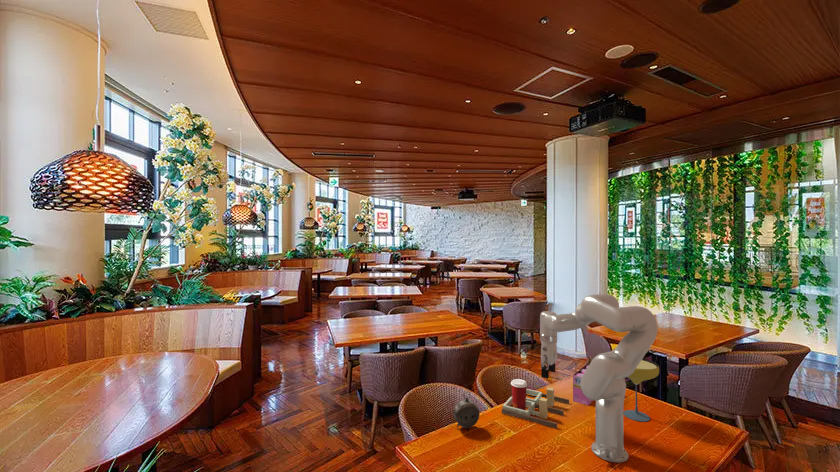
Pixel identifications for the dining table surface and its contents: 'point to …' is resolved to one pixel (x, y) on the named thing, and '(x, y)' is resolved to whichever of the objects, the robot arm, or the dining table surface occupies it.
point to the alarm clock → (466, 413)
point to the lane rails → (538, 420)
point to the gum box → (577, 391)
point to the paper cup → (519, 393)
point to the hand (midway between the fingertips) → (548, 374)
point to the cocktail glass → (641, 373)
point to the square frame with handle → (539, 395)
